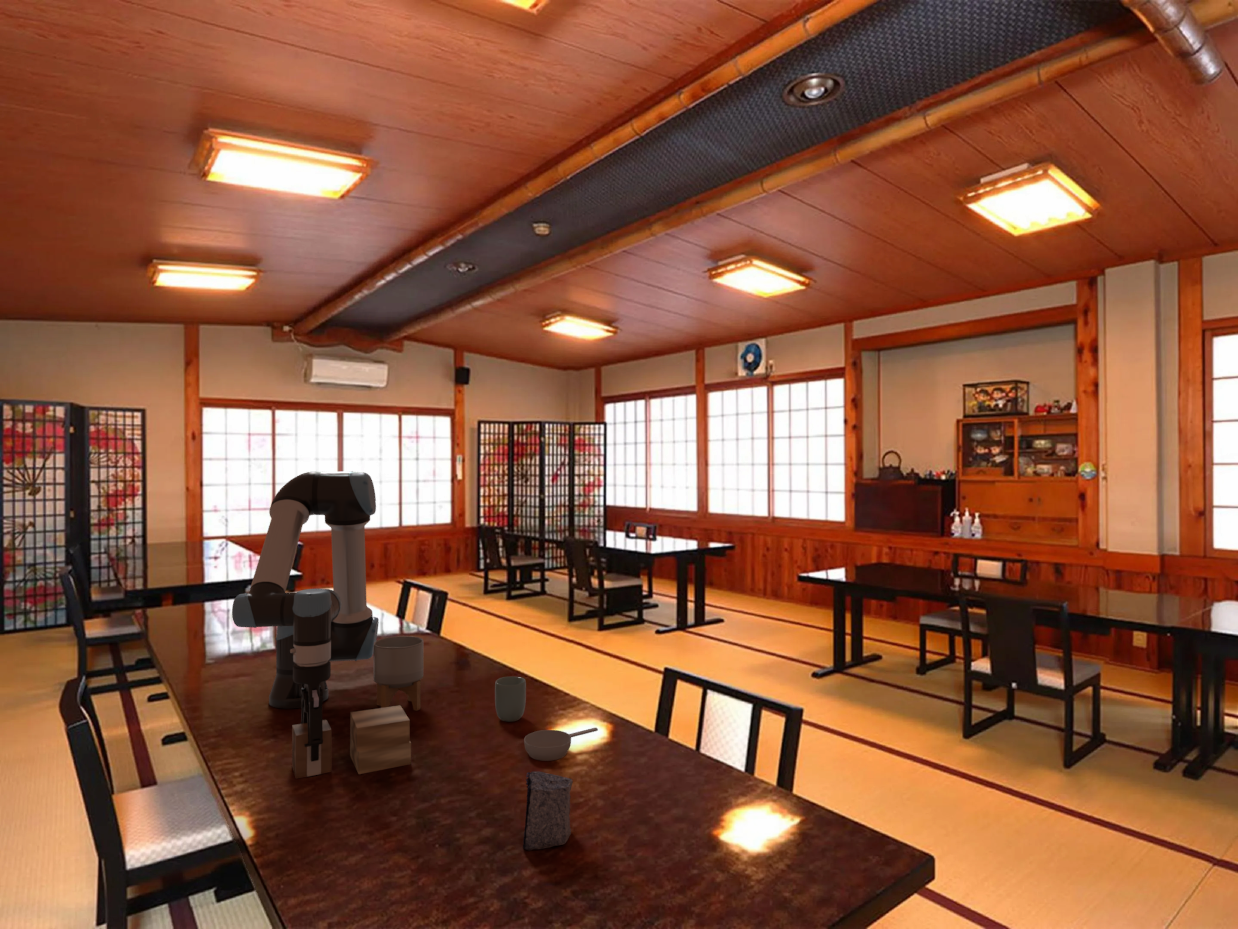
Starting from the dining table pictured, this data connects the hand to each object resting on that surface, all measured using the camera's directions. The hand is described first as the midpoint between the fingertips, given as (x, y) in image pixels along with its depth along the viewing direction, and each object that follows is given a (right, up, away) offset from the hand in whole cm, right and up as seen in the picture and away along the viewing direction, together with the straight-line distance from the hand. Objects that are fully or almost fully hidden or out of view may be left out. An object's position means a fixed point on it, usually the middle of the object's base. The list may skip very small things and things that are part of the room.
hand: (311, 767), depth 157 cm
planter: (+7, 0, +40) cm, 41 cm away
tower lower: (+13, -1, +5) cm, 14 cm away
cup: (+38, -1, +31) cm, 49 cm away
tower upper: (+13, +4, +5) cm, 15 cm away
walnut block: (0, 0, 0) cm, 0 cm away
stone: (+54, -1, -28) cm, 61 cm away
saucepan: (+53, -1, +11) cm, 55 cm away
